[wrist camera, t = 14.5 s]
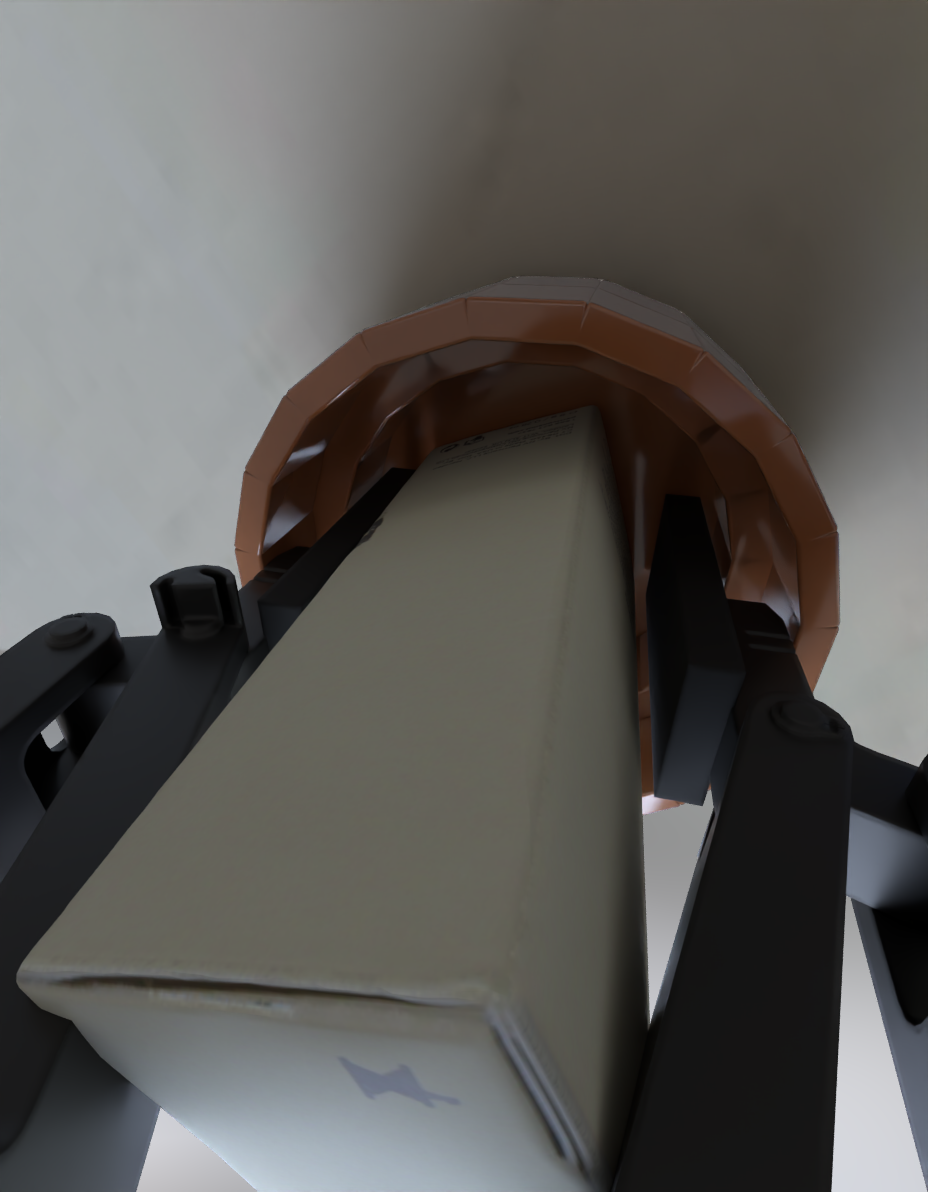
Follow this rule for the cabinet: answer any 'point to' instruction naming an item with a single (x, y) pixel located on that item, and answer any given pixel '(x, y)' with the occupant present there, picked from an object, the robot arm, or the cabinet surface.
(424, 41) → the cabinet surface
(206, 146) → the cabinet surface
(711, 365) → the bowl
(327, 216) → the cabinet surface
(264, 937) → the box
